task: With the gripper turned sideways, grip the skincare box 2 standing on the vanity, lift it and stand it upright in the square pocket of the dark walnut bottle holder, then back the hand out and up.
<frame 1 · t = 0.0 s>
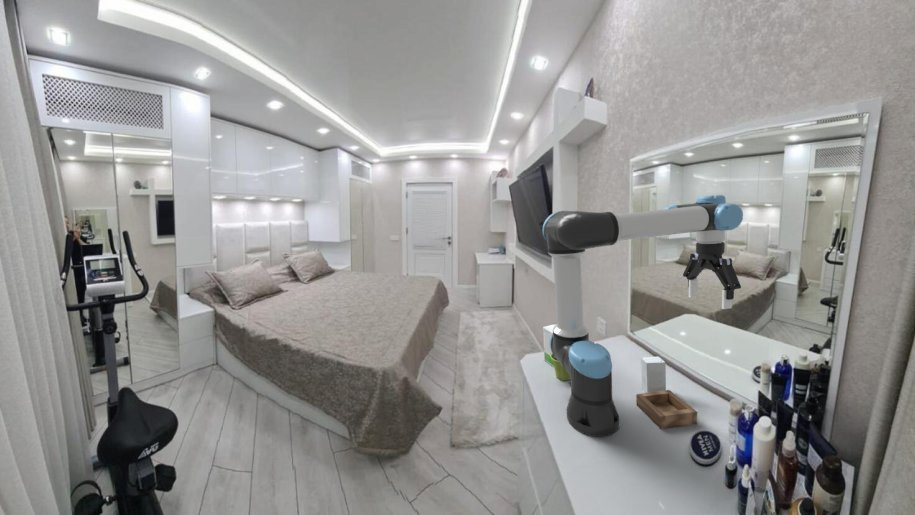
hand: (708, 302, 107), 28 cm above the table, tool pointing down, fingers open, 13 cm apart
skincare box: (556, 363, 132), on the table
skincare box 2: (653, 392, 106), on the table
walnut bottle holder: (665, 414, 95), on the table
plant pot: (564, 377, 121), on the table
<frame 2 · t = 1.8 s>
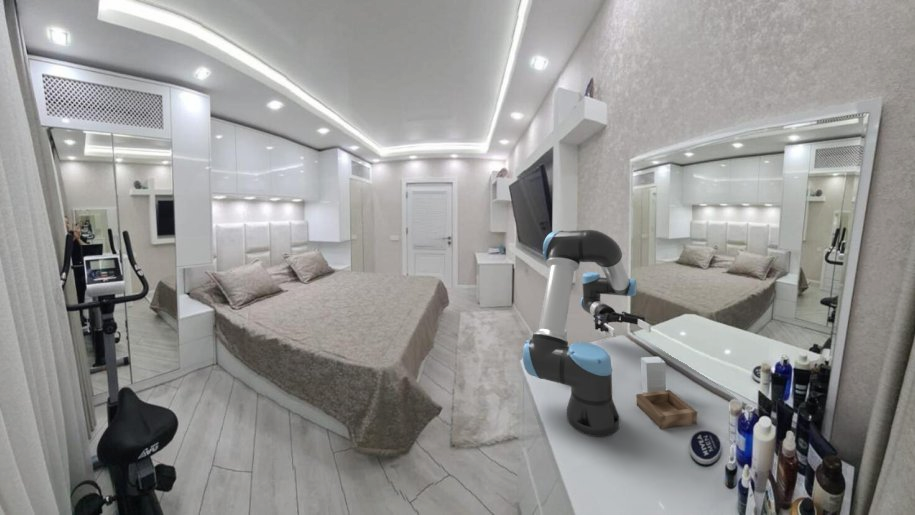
hand: (632, 330, 115), 18 cm above the table, tool horizontal, fingers open, 13 cm apart
nothing on the table moved.
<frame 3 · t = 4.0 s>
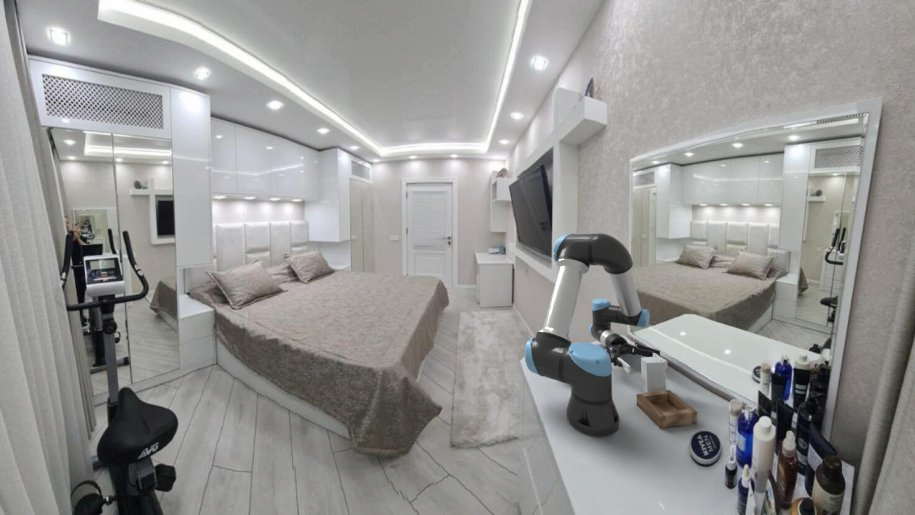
hand: (647, 367, 109), 7 cm above the table, tool horizontal, fingers open, 13 cm apart
nothing on the table moved.
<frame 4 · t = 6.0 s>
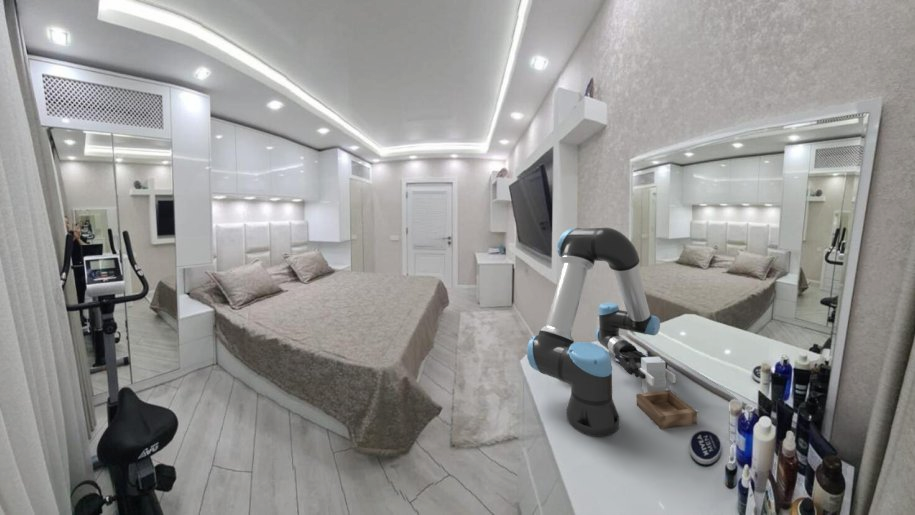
hand: (663, 380, 100), 7 cm above the table, tool horizontal, fingers closed on skincare box 2, 6 cm apart
skincare box 2: (653, 392, 106), on the table, touching gripper
everything else where it was.
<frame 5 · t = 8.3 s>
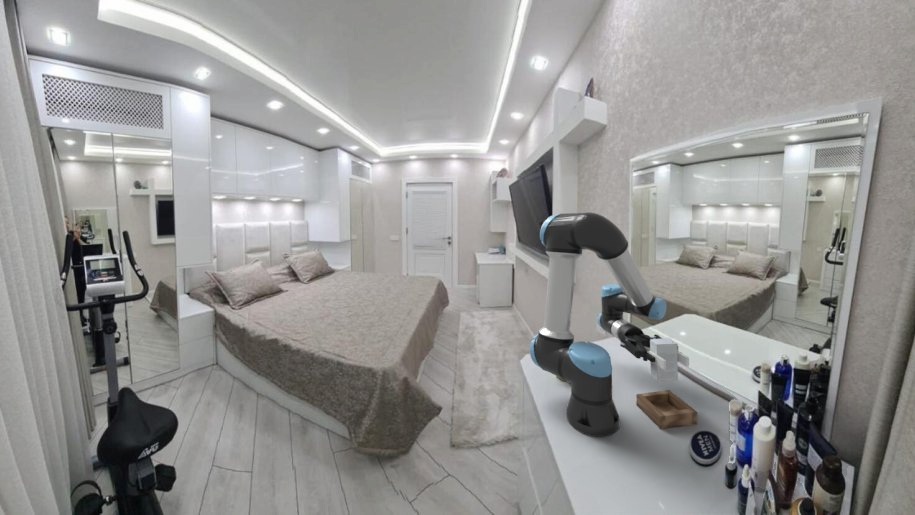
hand: (676, 363, 90), 18 cm above the table, tool horizontal, fingers closed on skincare box 2, 6 cm apart
skincare box 2: (663, 377, 96), point 10 cm above the table, touching gripper
everything else where it was.
when the fingers open (9 cm above the table, at t = 10.9 s): skincare box 2 drops 1 cm, resting on walnut bottle holder.
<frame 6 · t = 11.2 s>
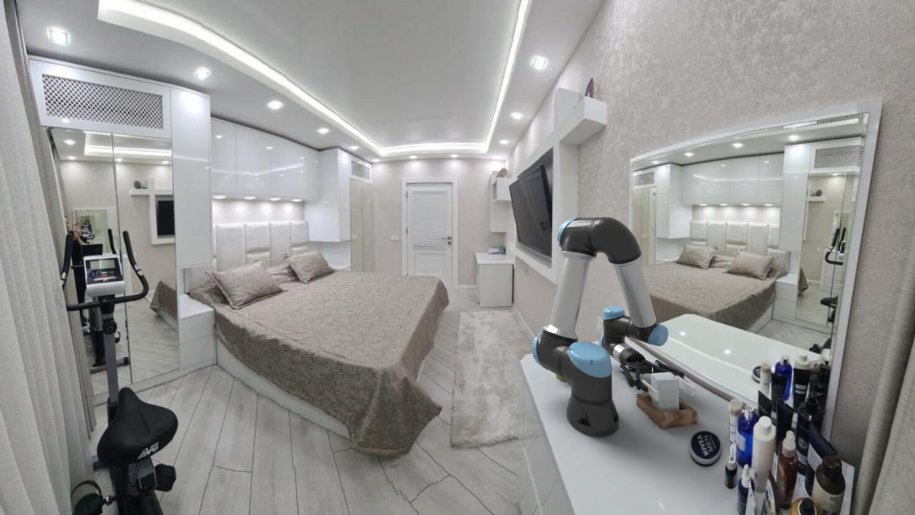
hand: (675, 394, 89), 10 cm above the table, tool horizontal, fingers open, 10 cm apart
skincare box 2: (664, 412, 95), point 1 cm above the table, touching walnut bottle holder
everything else where it was.
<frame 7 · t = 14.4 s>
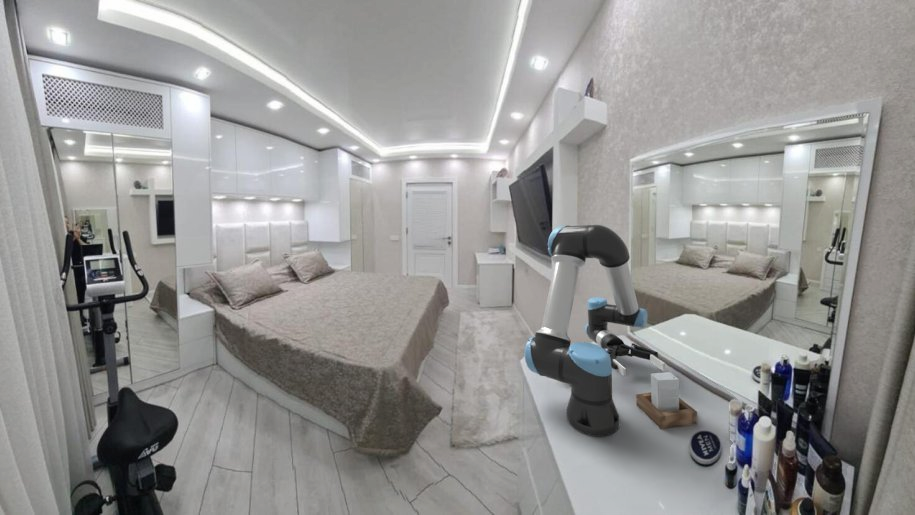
hand: (644, 369, 103), 10 cm above the table, tool horizontal, fingers open, 13 cm apart
nothing on the table moved.
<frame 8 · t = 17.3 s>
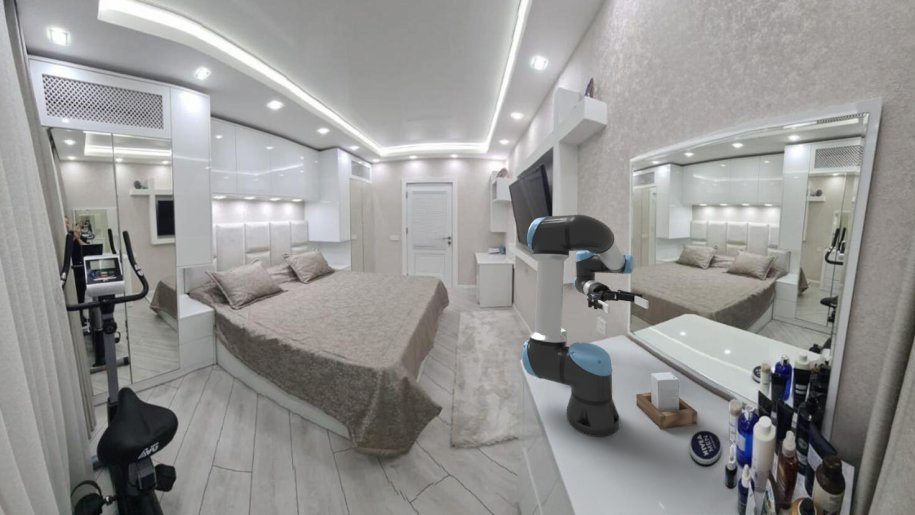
hand: (628, 307, 105), 30 cm above the table, tool horizontal, fingers open, 13 cm apart
nothing on the table moved.
at the end: skincare box 2 0.1 cm off-centre on the walnut bottle holder, point 0.6 cm above the walnut bottle holder's base; skincare box 2 tilted 0°; the gripper is holding nothing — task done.
